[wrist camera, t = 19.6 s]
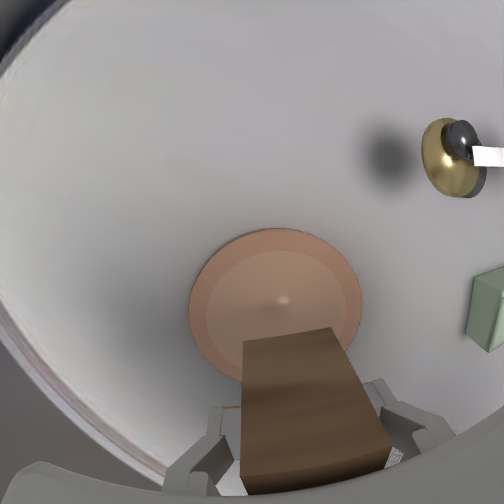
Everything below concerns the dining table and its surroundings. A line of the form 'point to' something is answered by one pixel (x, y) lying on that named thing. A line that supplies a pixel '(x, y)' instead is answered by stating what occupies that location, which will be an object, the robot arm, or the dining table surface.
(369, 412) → the block
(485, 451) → the robot arm
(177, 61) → the dining table surface
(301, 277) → the saucer
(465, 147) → the balance
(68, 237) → the dining table surface
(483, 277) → the cover
